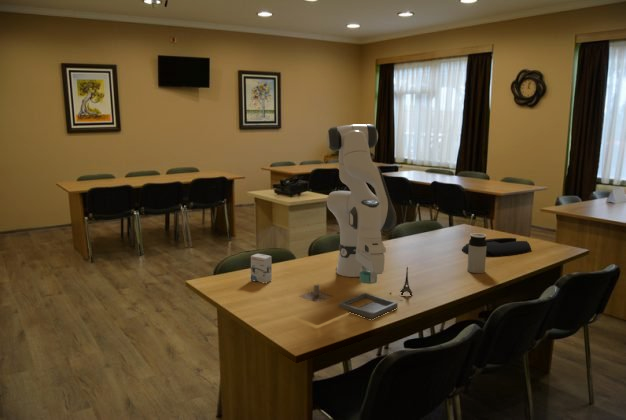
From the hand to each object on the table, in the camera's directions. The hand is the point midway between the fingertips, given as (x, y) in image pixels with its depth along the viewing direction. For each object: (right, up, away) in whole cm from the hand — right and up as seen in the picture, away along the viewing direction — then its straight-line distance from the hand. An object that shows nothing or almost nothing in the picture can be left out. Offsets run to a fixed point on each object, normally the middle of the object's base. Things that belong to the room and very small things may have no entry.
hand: (368, 278), depth 187 cm
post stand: (-20, -10, +14) cm, 26 cm away
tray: (0, -12, +2) cm, 12 cm away
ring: (0, -1, 0) cm, 1 cm away
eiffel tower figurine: (+18, -10, +19) cm, 28 cm away
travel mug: (+57, -4, +49) cm, 76 cm away
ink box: (-44, -6, +35) cm, 57 cm away
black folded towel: (+81, +3, +88) cm, 120 cm away
